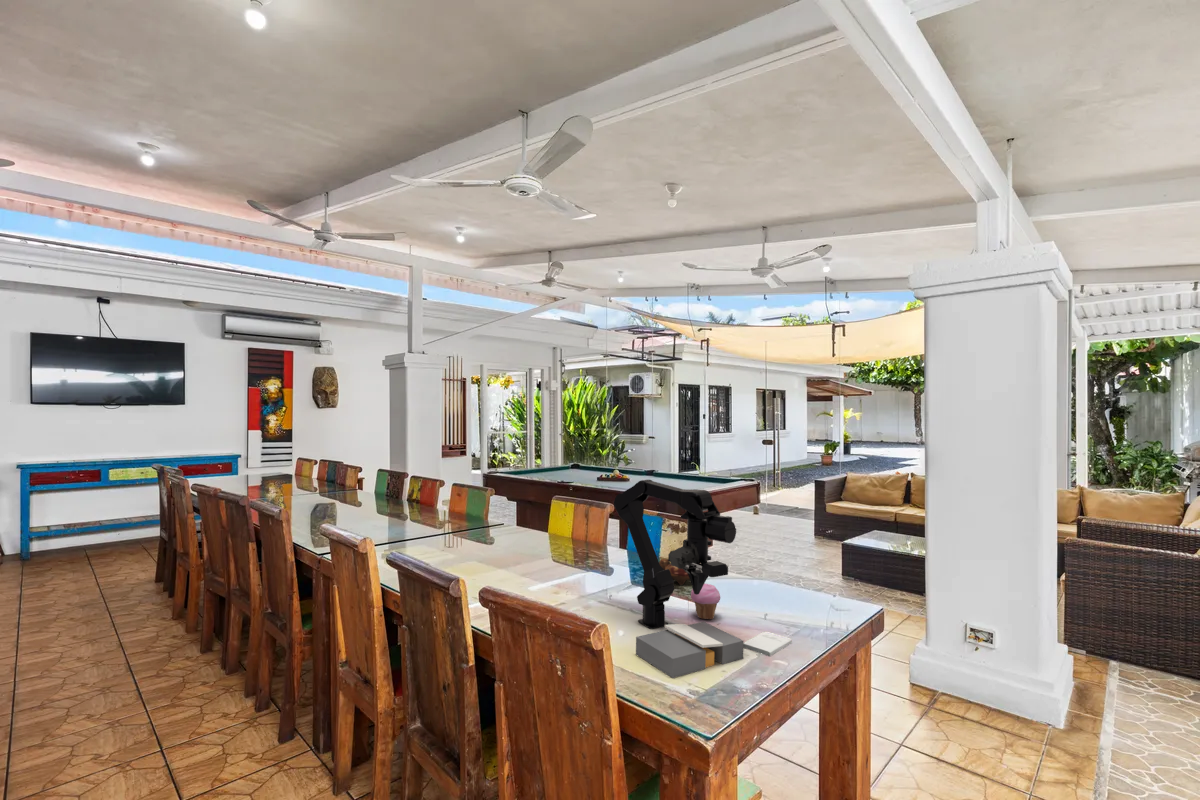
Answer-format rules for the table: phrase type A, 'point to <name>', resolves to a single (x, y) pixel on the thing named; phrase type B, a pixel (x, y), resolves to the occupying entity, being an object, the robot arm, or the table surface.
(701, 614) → the cupcake
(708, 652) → the orange bar
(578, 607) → the table surface
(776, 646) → the external hard drive
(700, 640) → the panel
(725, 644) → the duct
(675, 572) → the decorative turtle
